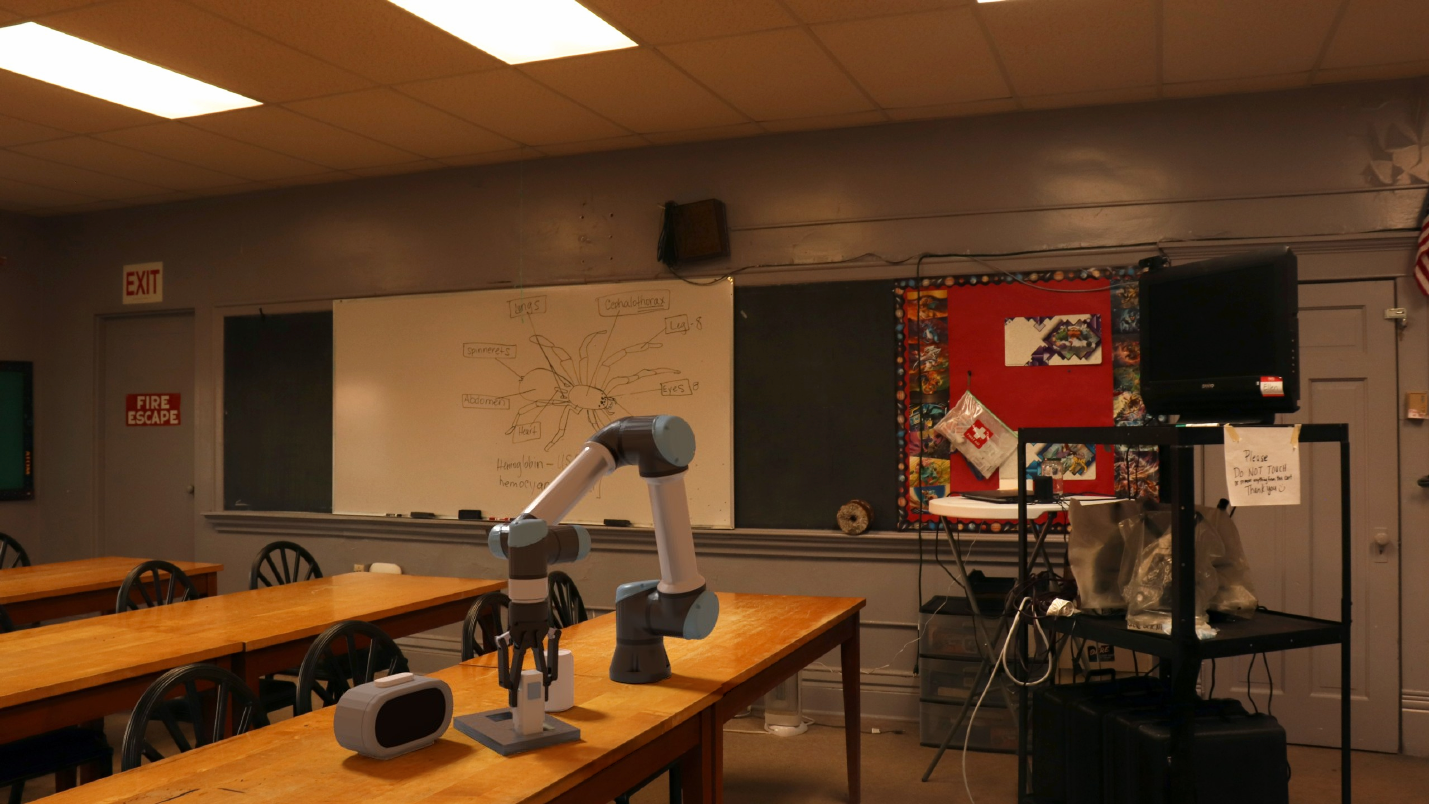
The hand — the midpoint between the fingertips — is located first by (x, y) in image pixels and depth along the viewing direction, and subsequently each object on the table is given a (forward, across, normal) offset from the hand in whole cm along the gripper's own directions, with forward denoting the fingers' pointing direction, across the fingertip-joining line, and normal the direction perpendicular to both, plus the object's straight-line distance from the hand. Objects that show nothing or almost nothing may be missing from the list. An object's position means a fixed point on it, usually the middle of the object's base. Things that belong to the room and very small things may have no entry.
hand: (528, 721), depth 191 cm
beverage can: (+4, -15, -18) cm, 24 cm away
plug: (+3, 0, 0) cm, 3 cm away
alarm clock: (+4, +22, -11) cm, 25 cm away
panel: (+4, 0, -6) cm, 7 cm away
